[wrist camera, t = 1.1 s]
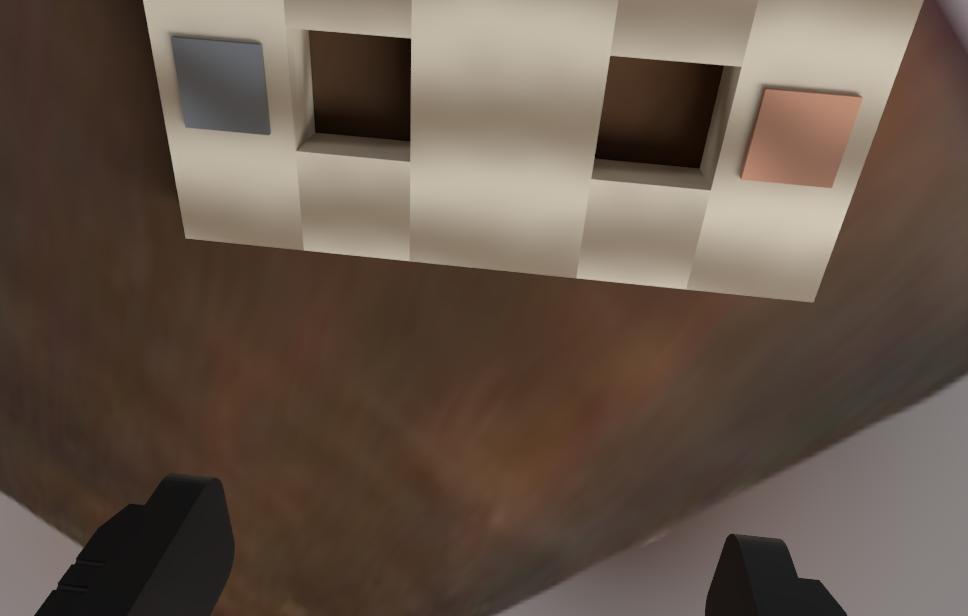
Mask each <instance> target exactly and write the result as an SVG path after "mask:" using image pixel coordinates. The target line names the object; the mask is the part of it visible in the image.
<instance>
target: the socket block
mask: <svg viewBox="0 0 968 616" xmlns="http://www.w3.org/2000/svg"><path fill="white" fill-rule="evenodd" d="M923 1H924V0H143V3H144V8H145V14H146V19H147V25H148V30H149V36H150V42H151V47H152V53H153V58H154V64H155V69H156V75H157V81H158V86H159V92H160V97H161V103H162V108H163V114H164V120H165V125H166V131H167V136H168V142H169V148H170V153H171V159H172V164H173V170H174V175H175V181H176V187H177V192H178V198H179V203H180V209H181V214H182V220H183V226H184V231H185V237H186V238H188V239H198V240H207V241H217V242H227V243H237V244H247V245H256V246H266V247H276V248H286V249H296V250H305V251H315V252H325V253H335V254H345V255H354V256H364V257H374V258H384V259H393V260H403V261H413V262H423V263H433V264H442V265H452V266H462V267H472V268H482V269H491V270H501V271H511V272H521V273H530V274H540V275H550V276H560V277H570V278H579V279H589V280H599V281H609V282H619V283H628V284H638V285H648V286H658V287H668V288H677V289H687V290H697V291H707V292H716V293H726V294H736V295H746V296H756V297H765V298H775V299H785V300H795V301H805V302H814V299H815V297H816V294H817V291H818V288H819V286H820V283H821V280H822V277H823V275H824V272H825V269H826V266H827V264H828V261H829V258H830V255H831V253H832V250H833V247H834V245H835V242H836V239H837V236H838V234H839V231H840V228H841V225H842V223H843V220H844V217H845V214H846V212H847V209H848V206H849V203H850V201H851V198H852V195H853V192H854V190H855V187H856V184H857V182H858V179H859V176H860V173H861V171H862V168H863V165H864V162H865V160H866V157H867V154H868V151H869V149H870V146H871V143H872V140H873V138H874V135H875V132H876V129H877V127H878V124H879V121H880V119H881V116H882V113H883V110H884V108H885V105H886V102H887V99H888V97H889V94H890V91H891V88H892V86H893V83H894V80H895V77H896V75H897V72H898V69H899V66H900V64H901V61H902V58H903V56H904V53H905V50H906V47H907V45H908V42H909V39H910V36H911V34H912V31H913V28H914V25H915V23H916V20H917V17H918V14H919V12H920V9H921V6H922V3H923ZM309 30H318V31H329V32H341V33H353V34H364V35H376V36H388V37H399V38H411V141H400V140H389V139H378V138H368V137H357V136H346V135H336V134H325V133H315V122H314V106H313V91H312V76H311V60H310V45H309ZM610 56H621V57H633V58H644V59H656V60H667V61H679V62H691V63H702V64H714V65H724V68H723V72H722V76H721V81H720V85H719V89H718V93H717V97H716V102H715V106H714V110H713V114H712V119H711V123H710V127H709V131H708V135H707V140H706V144H705V148H704V152H703V157H702V161H701V165H700V168H689V167H678V166H668V165H657V164H646V163H636V162H625V161H614V160H603V159H594V158H595V151H596V145H597V138H598V132H599V125H600V118H601V112H602V105H603V99H604V92H605V86H606V79H607V72H608V66H609V59H610Z"/></svg>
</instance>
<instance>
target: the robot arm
mask: <svg viewBox="0 0 968 616" xmlns="http://www.w3.org/2000/svg"><path fill="white" fill-rule="evenodd" d="M234 552H235V543H234V537H233V532H232V527H231V522H230V518H229V513H228V508H227V503H226V499H225V494H224V489H223V485H222V483H221V481H220V480H219V479H218V478H212V477H202V476H193V475H183V474H169V475H167V476H166V477H165V478H164V479H163V480H162V481H161V482H160V484H159V485H158V487H157V488H156V490H155V491H154V492H153V494H152V495H151V497H150V498H149V500H148V501H147V503H146V504H145V505H137V504H129V505H128V506H126V507H125V508H124V509H122V510H121V511H120V512H119V513H117V514H116V515H115V516H113V517H112V518H111V519H110V520H108V521H107V522H106V523H104V524H103V525H102V526H100V527H99V528H98V529H97V531H96V532H95V533H94V535H93V536H92V537H91V539H90V540H89V542H88V543H87V544H86V546H85V547H84V548H83V550H82V551H81V552H80V554H79V555H78V557H77V558H76V563H75V564H74V565H73V564H72V565H71V566H70V568H69V569H68V570H67V572H66V573H65V574H64V576H63V577H62V578H61V580H60V581H59V582H58V587H57V589H56V590H53V591H52V592H51V593H50V595H49V596H48V597H47V599H46V600H45V602H44V603H43V604H42V606H41V607H40V608H39V610H38V611H37V613H36V614H35V615H34V616H210V615H211V613H212V611H213V609H214V607H215V605H216V603H217V601H218V599H219V597H220V595H221V593H222V591H223V589H224V587H225V585H226V583H227V580H228V578H229V575H230V572H231V569H232V565H233V560H234ZM705 616H847V614H846V612H845V611H844V610H843V609H842V607H841V606H840V605H839V604H838V602H837V601H836V600H835V599H834V598H833V596H832V595H831V594H830V593H829V591H828V590H827V589H826V588H825V587H824V585H823V584H822V583H821V582H820V581H819V580H813V579H803V578H798V576H797V573H796V570H795V567H794V564H793V561H792V558H791V556H790V553H789V550H788V548H787V546H786V544H785V543H784V542H783V541H782V540H781V539H775V538H765V537H757V536H747V535H737V534H730V535H729V536H728V537H727V539H726V541H725V544H724V547H723V550H722V553H721V556H720V559H719V562H718V565H717V568H716V571H715V574H714V577H713V580H712V583H711V586H710V589H709V592H708V595H707V600H706V608H705Z"/></svg>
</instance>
